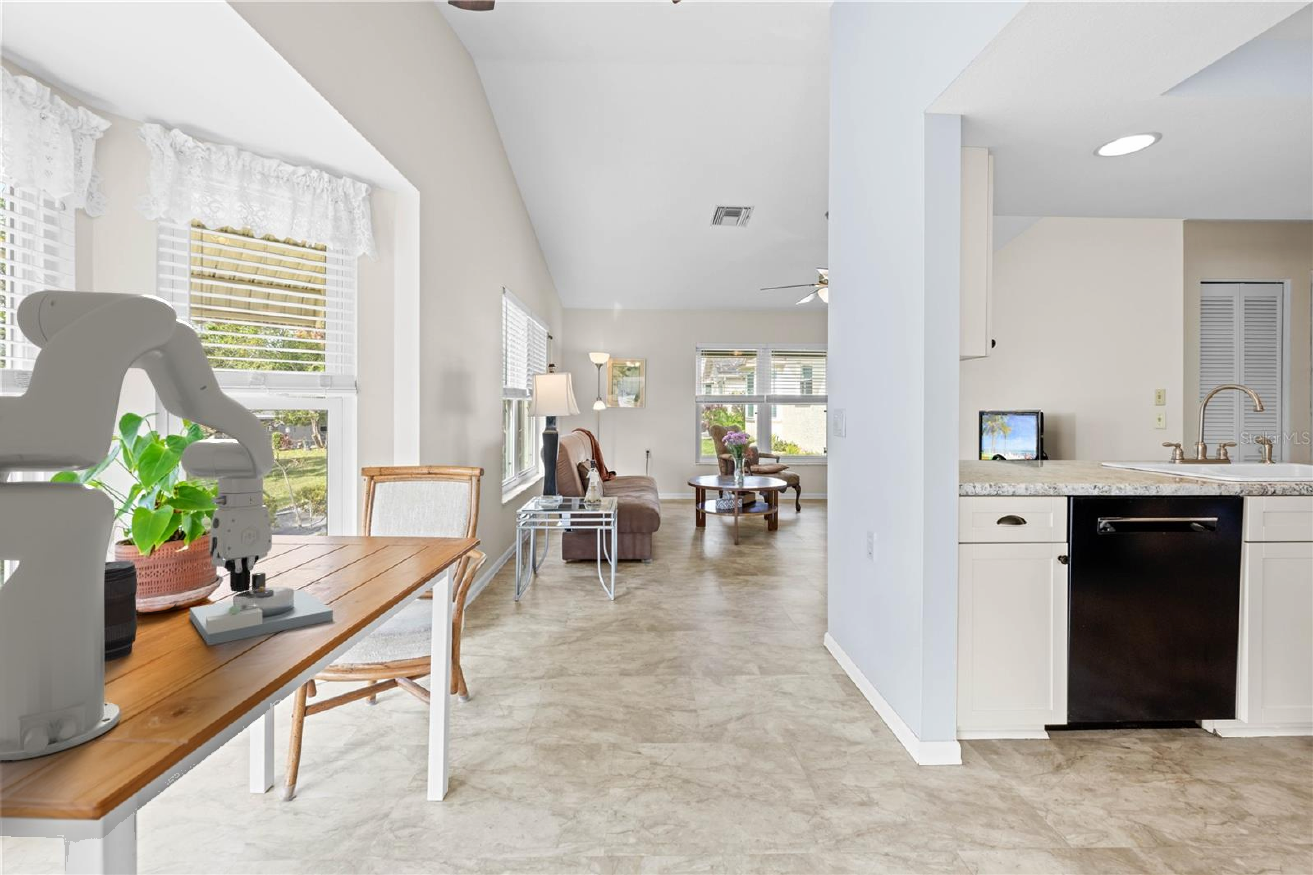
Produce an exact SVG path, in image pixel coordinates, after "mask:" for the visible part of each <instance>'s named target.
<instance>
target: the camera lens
mask: <svg viewBox="0 0 1313 875" xmlns="http://www.w3.org/2000/svg"><path fill="white" fill-rule="evenodd" d="M137 570H138V569H137V568H136V563H135V562H133V561H130V560H129V561H127V560H116V561H114V560H113V561H106V562H105V574H104V662H106V661H111V660H116V659H120V658H122V657H125V656H127V655H129V654H130V653H131V652H132V651H133V644H134V643H135V642H136V639H137V638H136V637H137V636H136V635H137V632H138V622H137V621H138V620H137V610H136V593H137Z"/></svg>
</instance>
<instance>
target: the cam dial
mask: <svg viewBox="0 0 1313 875" xmlns="http://www.w3.org/2000/svg"><path fill="white" fill-rule="evenodd" d="M266 575H267V573H266V572H256V573H252V574H251V589H249V590H248V591H244V592H239V593H237V594H235V595H234V596H233V598H232V601H233V606H234V605H237V606H239V607H240V611H246V610H252V609H257V608H259V609H260V610H262V616H269V615H274V614H278V613H282V612H285V611H287V610H290V609H291V608H293V607H294V591H295V590H294V589H293V588H292V587H287V586H286V587H284V586H272V587H270V586H269V587H266V580H267V578H266V577H267V576H266ZM240 611H239V612H240Z"/></svg>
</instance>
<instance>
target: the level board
mask: <svg viewBox="0 0 1313 875" xmlns="http://www.w3.org/2000/svg"><path fill="white" fill-rule="evenodd" d="M239 611H240V607H239V606H237V605H234V606H233V600H230V601H224V602H218V603H213V604H212V603H211V604H207V605H200V606H193V607H189V619H190V620H191V622H192V623H193V625H194V626H195V627H196V629H197V631H198V632H199V634H200V635H201V636H202V638H203V640H204V641H205V643H206V644H207V646H212V645H219V644H222V643H228V642H233V641H236V640H237V641H238V640H243V639H246V638H247V639H248V638H253V637H257V636H261V635H267V634H272V633H277V632H282V631H285V630H290V629H295V628H296V629H297V628H300V627H305V626H310V625H316V624H320V623H326V622H330V621H333V620H334V619H333V618H334V610H333V609H332V608H331V607H329V606H328V605H326V604H325V603H323V601H320V600H319V599H318V598H317V597H315V596H314V595H313V594H311V593H310V592H308V591H306V590H305V589H296V590H294V607H293V608H291V609H290V610H287V611H285V612H282V613H278V614H274V615H269V616H262V610H260V609H259V608H257V609H252V610H246V611H240V612H239Z"/></svg>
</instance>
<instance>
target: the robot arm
mask: <svg viewBox="0 0 1313 875" xmlns="http://www.w3.org/2000/svg"><path fill="white" fill-rule="evenodd" d="M16 320H17V325H18V327H19V330H20V331H21V333H22V334H23V336H24V337H25V338H26V339H27V340H28V341H29V342H30V343H31V344H33V345H34V346H36V347H37V348H39V349H40V351H39V353H38V355H37V356H36V359H35V362H34V366H33V370H32V373H31V376H30V380H29V384H28V386H27V388H26V391H25V392H24V393H23V394H21V395H20V396H19V395H18V396H16V395H13V396H9V395H0V561H10V562H11V561H17V562H18V565H17V567H16V569H15V570H14V571H13V573H12V574H11V575H10V576H9V577H8V578H7V579H6V581H5V582H4V583H3V585H2V586H1V588H0V760H12V761H19V760H27V759H32V758H37V757H41V756H46V755H50V754H53V753H57V752H60V751H64V750H67V749H70V748H73V747H76V746H78V745H81V744H84V743H85V742H88V741H91V740H93V739H95V738H97V737H99V736H101V735H103V734H105V733H107V732H108V731H109V730H111V729H112V728H113V727H115V725H117V724H118V723H119V721H120V719H121V716H122V715H121V708H120V706H118V705H117V704H115V703H111V702H107V701H106V702H105V661H104V574H105V562H107V557H108V556H107V555H108V551H109V550H108V548H109V544H110V541H111V536H112V533H113V527H114V523H115V517H116V516H115V514H116V511H115V506H114V502H113V501H112V499H111V497H110V496H109V495H108V494H107V493H106V492H104V491H103V490H102V489H100V488H98V487H96V486H93V485H91V484H87V483H80V482H74V481H62V480H60V481H58V480H57V481H55V480H53V481H49V480H48V481H45V480H43V481H41V480H39V481H34V480H33V481H32V480H31V481H27V480H26V481H8V479H9V477H10V474H11V472H13V473H14V472H20V473H22V472H23V473H25V472H26V473H27V472H28V473H30V472H31V473H32V472H34V473H35V472H36V473H37V472H40V473H41V472H43V473H44V472H46V473H47V472H49V473H50V472H51V473H52V472H55V473H56V472H57V473H58V472H76V471H77V472H79V471H85V470H91V469H93V468H96V467H98V466H100V465H101V464H102V463H103V462H104V461H105V460H106V458H107V456H108V454H109V452H110V449H111V446H112V441H113V437H114V431H115V427H116V421H117V415H118V411H119V410H118V409H119V403H120V398H121V392H122V388H123V387H122V386H123V382H124V380H125V376H126V374H127V372H128V370H129V369H141V370H143V371H144V372H145V373H146V375H147V377H148V379H149V380H150V382H151V385H152V386H153V389H154V390H155V392H156V394H157V396H158V398H159V400H160V402H161V404H162V406H163V408H164V410H166V411H167V412H168V413H170V414H171V415H172V416H175V417H177V418H180V419H182V420H185V421H188V422H191V423H193V424H196V425H200V426H203V427H206V428H209V429H212V430H215V431H218V432H221V433H223V434H225V435H226V436H229V437H230V438H232V439H200V440H199V439H198V440H195V441H193V442H191V443H190V444H188V445H187V446H186V447H185V448H184V449H183V450H182V451H183V452H182V453H181V456H180V464H181V467H182V469H183V470H184V472H185V473H186V474H188V475H189V476H191V477H193V478H196V479H201V480H202V479H203V480H217V496H215V497H213V498H212V499H211V502H212V504H213V505H217V508H216V509H214V511H213V515H212V520H211V523H210V524H211V525H210V531H209V545H208V546H209V547H208V548H209V550H208V551H209V555H210V557H211V563H210V566H213V567H218V568H219V567H223V568H224V569H226V571H227V572H229V573H230V574H229V586H230V590H231V591H232V592H236V593H238V592H239V593H242V592H245V591H249V590H251V588H250V585H251V571H253V570H254V567H255V565H256V563H257V562H258V561H259V560H261V559H264V558H265V557H268V554H269V552H270V551H271V550H272V547H273V536H272V534H273V533H272V524H271V523H272V522H271V516H270V513H269V508H268V505H265V504H264V478H265V477H266V476H267V475H269V474H270V473H271V471H272V469H273V468H274V464H275V454H274V449H273V444H272V442H271V440H270V436H269V434H268V432H267V430H266V427H265V425H264V424H263V421H261V420H260V419H259V417H257V415H255V414H254V413H253V412H252V411H251V410H249V409H248V408H247V407H246V406H244V405H243V404H241V403H240V402H238V401H237V400H236V399H234V398H232V397H231V396H229V395H227V394H225V393H224V392H223V391H222V390H221V388H220V386H219V383H218V380H217V378H216V376H215V373H214V370H213V368H212V366H211V363H210V362H209V359H208V356H207V354H206V352H205V349H204V347H203V344H202V342H201V339H200V337H199V335H198V333H197V331H196V330H195V329H194V327H192V326H191V325H190V323H187V322H186V321H183V320H181V319H178V316H177V312H176V310H175V308H174V307H173V306H172V305H171V303H169V302H168V301H166V300H164V299H162V298H160V297H158V296H154V295H149V294H142V293H127V292H125V293H122V292H106V291H105V292H102V291H101V292H100V291H99V292H97V291H96V292H95V291H74V290H59V289H58V290H56V289H55V290H52V289H50V290H40V291H36V292H34V293H31V294H29V295H27V296H26V297H24V298H23V299H22V300H21V301H20V304H19V305H18V307H17V310H16ZM250 497H251V499H252V501H250ZM250 503H251V504H250ZM249 527H250V530H249Z"/></svg>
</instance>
